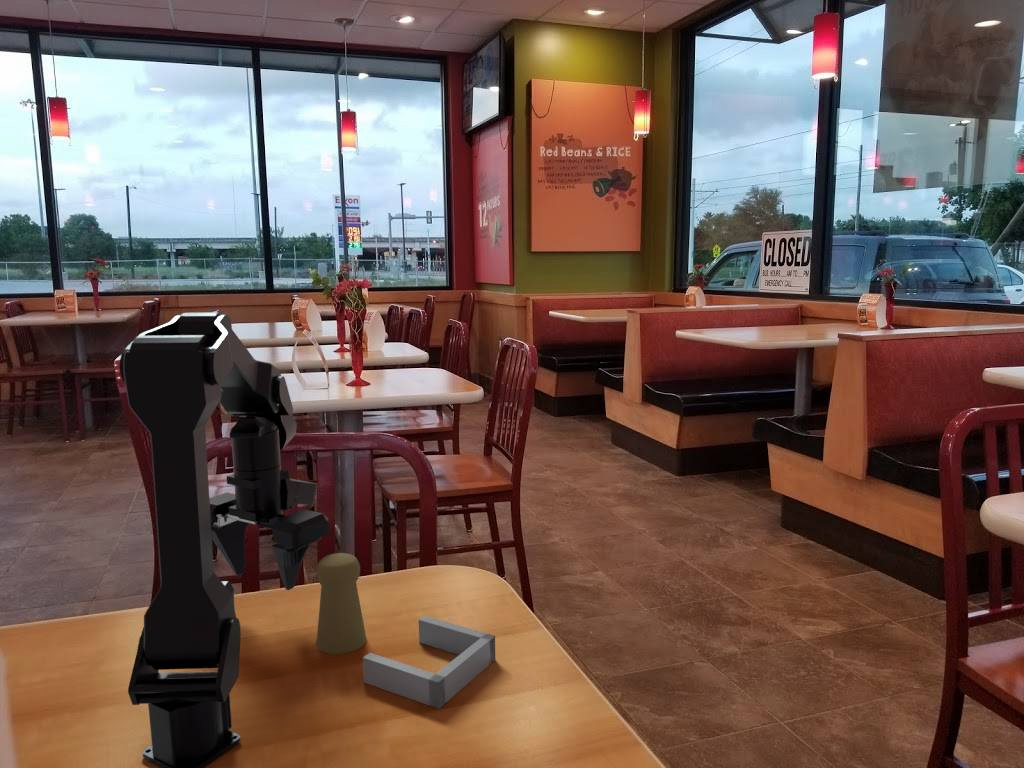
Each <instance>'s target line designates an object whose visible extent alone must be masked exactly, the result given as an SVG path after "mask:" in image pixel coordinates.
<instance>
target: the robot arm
mask: <svg viewBox="0 0 1024 768" xmlns="http://www.w3.org/2000/svg"><path fill="white" fill-rule="evenodd" d="M119 373H120V378H121V380H122V382H123V383H124V385H125V392H126V398H127V403H128V407H129V409H130V410H131V411H132V413H133V414H134V415H135V417H136V418H137V419H138V420H139V422H140V423H141V424H142V425H143V426H144V428H145V429H146V431H148V432H149V437H150V449H151V450H150V451H151V462H152V463H151V464H152V477H153V490H154V491H153V493H154V495H153V496H154V505H155V506H154V507H155V521H156V534H157V548H158V549H157V550H158V551H157V552H158V564H159V565H158V566H159V580H160V584H159V585H160V586H159V588H158V590H157V591H156V593H155V596H154V598H153V599H152V600H151V603H150V604H149V606H148V607H147V609H146V611H145V612H144V615H143V627H142V630H141V635H140V636H139V639H138V644H137V650H136V651H137V652H136V655H135V659H134V664H133V667H132V670H131V675H130V681H129V685H128V689H127V694H128V696H129V699H130V701H131V704H132V706H139V705H146V704H148V705H147V706H148V716H149V726H150V727H149V729H150V739H151V745H150V746H148V747H146V748H145V749H143V750H142V758H143V759H146V760H147V761H149V762H151V763H153V764H156V765H157V766H159V767H162V768H204V767H205V766H207V765H208V764H209V763H211V762H213V761H214V760H216V759H217V758H218V757H220V756H222V755H223V754H224V753H226V752H227V751H229V750H230V749H232V748H233V747H234V746H236V745H238V744H240V742H241V735H240V734H238V733H235V732H233V731H231V730H230V729H232V710H231V698H230V697H231V691H232V689H233V688H234V686H235V684H236V682H237V681H238V678H239V676H240V661H241V660H240V656H241V655H240V654H241V623H240V620H239V618H238V617H237V615H236V610H235V609H236V608H235V588H234V587H233V585H232V583H231V581H229V580H221V579H220V578H219V576H218V575H217V574H216V573H215V568H214V554H213V542H214V544H215V545H216V547H217V549H219V551H220V553H221V554H222V556H223V557H224V559H225V560H226V562H227V563H228V564H229V565H228V566H230V568H231V570H232V571H233V572H234V574H235V575H236V576H241V575H243V574H244V573H245V567H246V565H245V564H246V544H245V543H246V542H245V541H246V540H245V535H246V531H247V529H248V527H249V524H252V525H255V526H260V527H263V528H267V529H271V531H272V532H271V535H272V536H271V537H272V538H273V540H274V541H275V542H276V543H274V544H273V545H272V544H271V547H272V551H273V554H274V558H275V561H276V565H277V567H278V571H279V574H280V578H281V581H282V584H283V586H284V588H285V590H286V591H290V590H292V589H294V587H295V585H296V582H297V579H298V577H299V573H300V570H301V566H302V563H303V560H304V558H305V554H306V552H307V551H308V549H309V548H310V546H311V545H312V544H314V543H316V542H318V541H320V540H321V538H323V537H326V536H328V535H330V526H329V523H330V522H329V521H330V520H329V517H327V515H325V514H324V513H323V512H317V511H314V510H311V509H310V510H309V509H304V508H302V509H301V510H298V511H295V512H293V513H289V514H287V515H286V514H285V515H284V514H283V512H285V511H291V510H293V509H295V507H296V506H295V505H307V507H311V508H312V507H314V506H315V505H314V504H315V501H316V495H317V494H316V493H317V489H318V486H319V485H318V483H316V482H310V481H306V480H299V479H295V478H291V473H290V472H289V469H283V468H282V464H281V451H282V450H283V449H284V448H285V447H286V445H288V443H289V442H290V441H292V439H293V438H294V437H295V435H296V432H297V426H298V425H297V424H298V423H297V421H296V420H295V417H294V415H293V412H294V407H293V404H292V399H291V395H290V392H289V389H288V385H287V382H286V381H287V380H286V378H285V376H283V375H282V374H281V371H280V370H279V368H277V367H276V366H275V365H273V364H272V363H270V362H265V361H260V360H256V359H255V358H254V356H252V354H251V353H250V351H249V350H248V348H247V347H246V346H245V344H244V343H243V342H242V341H241V339H240V338H239V336H238V335H237V333H235V332H234V330H233V327H232V321H231V318H230V316H229V315H228V314H223V313H221V312H220V311H219V312H218V311H217V312H216V311H215V312H213V311H212V312H210V311H207V312H206V311H205V312H202V311H201V312H199V311H198V312H193V311H192V312H182V313H181V314H178V315H177V314H176V315H175V316H174V317H173V318H172V319H171V320H170V321H169V322H166V323H164V324H161V325H160V326H156V327H154V328H151V329H148V330H146V331H143V332H141V333H139V334H138V336H136V337H134V339H133V340H132V341H131V342H130V343H129V344H128V345H127V346H125V348H124V349H123V351H122V352H121V355H120V358H119ZM218 404H220V406H221V407H222V409H223V410H224V412H226V413H227V415H228V416H229V417H237V421H236V422H235V424H234V425H233V426H232V427H231V428H230V431H229V438H230V439H231V447H232V448H231V451H232V452H231V453H232V464H233V465H232V466H233V467H232V468H233V473H232V474H228V475H227V476H226V484H227V485H231V486H234V493H231V492H224V493H220V494H218V495H215V496H212V497H210V486H209V470H208V455H207V454H208V453H207V436H206V426H207V423H208V422H209V420H210V419H211V417H212V415H213V413H214V412H215V410H216V408H217V406H219V405H218ZM192 669H193V670H195V669H197V670H198V669H217V670H209V671H207V670H204V671H203V670H202V671H174V672H172V671H171V672H170V671H169V672H167V671H166V670H192ZM160 670H161V671H164V670H165V671H166V672H159V671H160Z"/></svg>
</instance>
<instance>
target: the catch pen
mask: <svg viewBox="0 0 1024 768" xmlns="http://www.w3.org/2000/svg"><path fill="white" fill-rule="evenodd" d="M418 642H419V643H420V644H422V645H424V646H425V645H426V646H429V647H432V648H436V649H439V650H442V651H445V652H449V653H452V654H455V655H457V656H456V657H455V658H454V659H452V660H451V661H450V662H449V663H448V664H446V665H445V666H444V667H442V668H441V669H440V670H439V671H437V672H436V673H433V672H431V671H427V670H424V669H421V668H418V667H415V666H412V665H409V664H406V663H403V662H400V661H397V660H393V659H392V658H388V657H384V656H382V655H378V654H375V653H374V652H373V653H372V652H369V653H367V654H366V655H364V656H363V657H362V667H363V668H362V669H363V671H362V672H363V683H364V684H367V685H370V686H373V687H376V688H378V689H382V690H385V691H386V692H387V691H388V692H390V693H393V694H395V695H398V696H401V697H404V698H406V699H409V700H412V701H415V702H417V703H421V704H424V705H426V706H429V707H433V708H435V709H438V710H439V709H441V708H442V707H443V706H444V705H445V704H446V703H448V701H449V700H451V699H452V698H453V697H454V696H455V695H457V694H458V692H460V691H461V690H462V689H463V688H464V687H466V686H467V685H468V684H469V683H471V682H472V681H473V680H474V679H475V678H476V677H477V676H479V674H481V673H482V672H483V671H484V670H485V669H487V668H488V667H489V666H490V665H491V664H492V663H493V662H495V660H496V635H494V634H490V633H487V632H483V631H479V630H476V629H473V628H469V627H465V626H461V625H458V624H455V623H451V622H448V621H444V620H441V619H437V618H433V617H430V616H427V615H426V616H425V615H424V616H422V617H421V618H419V619H418Z"/></svg>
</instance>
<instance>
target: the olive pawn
mask: <svg viewBox="0 0 1024 768" xmlns="http://www.w3.org/2000/svg"><path fill="white" fill-rule="evenodd" d="M360 574H361V565H360V562H359V561H358V559H357V557H356V556H354V555H353V554H351V553H345V552H338V553H337V552H336V553H331V554H328V555H326V556H324V557H321V558H320V560H319V561H318V563H317V565H316V569H315V575H316V577H317V578H316V579H317V581H318V583H319V584H320V585H321V587H320V600H319V608H318V609H319V611H318V619H317V630H316V631H317V633H316V643H315V644H316V649H317V650H319V651H320V652H322V653H324V654H330V655H343V654H348V653H352V652H354V651H357V650H359V649H360V648H362V647H364V645H365V644H366V642H367V635H366V628H365V623H364V618H363V613H362V608H361V601H360V596H359V591H358V587H357V585H358V584H357V581H358V580H359V579H360V578H359V577H360Z"/></svg>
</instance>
